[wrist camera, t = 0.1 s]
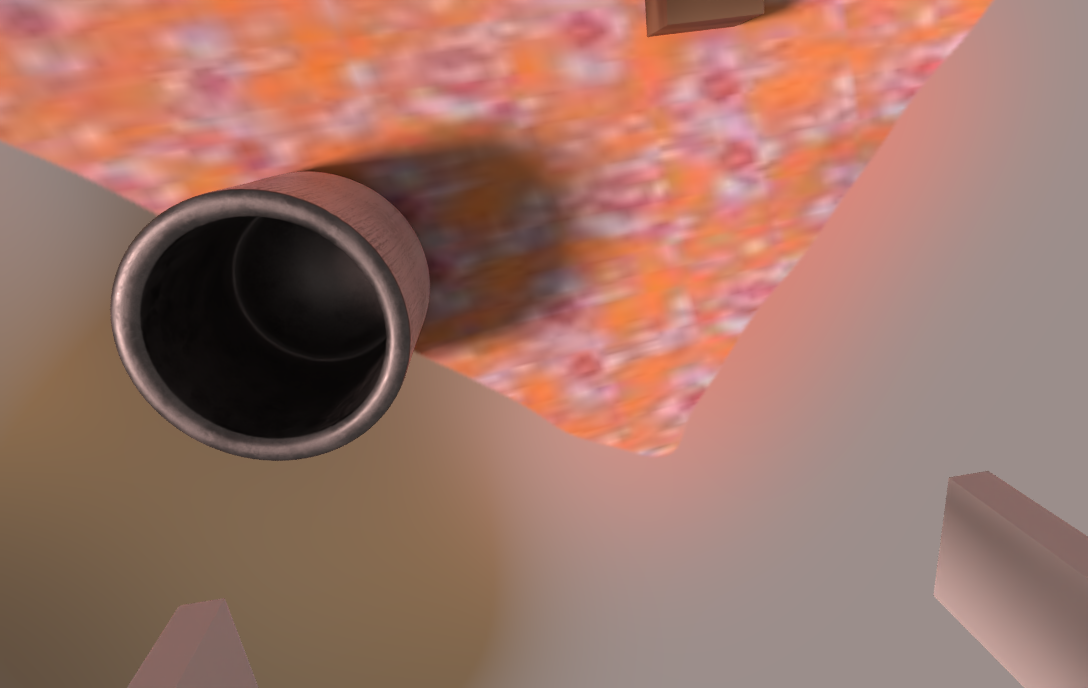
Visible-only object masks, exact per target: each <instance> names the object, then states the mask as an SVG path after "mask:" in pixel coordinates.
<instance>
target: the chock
mask: <svg viewBox="0 0 1088 688" xmlns="http://www.w3.org/2000/svg"><path fill="white" fill-rule="evenodd" d="M645 7H646V25H647V37H650V36H659V35H667V34H675V33H684V32H692V31H701V30H709V29H717V28H726V27H734V26H736V25H738V24H741V23H743V22H745V21H748V20H750V19H752V18H755V17H757V16H759V15H762V14H764V0H645Z"/></svg>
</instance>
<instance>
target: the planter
mask: <svg viewBox="0 0 1088 688" xmlns="http://www.w3.org/2000/svg"><path fill="white" fill-rule="evenodd" d="M429 298H430V277H429V269H428V264H427V261H426V257H425V254H424V251H423V248H422V246H421V243H420V241H419V239H418V237H417V235H416V233H415V232H414V230H413V228H412V227H411V225H410V224H409V223H408V221H407V220H406V219H405V217H404V216H403V215H402V214H401V213H400V211H399V210H398V209H397V208H396V207H395V206H394V205H392V204H391V203H390V202H389V201H388V200H387V199H385V198H384V197H383V196H381V195H380V194H379V193H377V192H375V191H374V190H372V189H371V188H369V187H367V186H365V185H363V184H361V183H358V182H356V181H354V180H351V179H348V178H345V177H342V176H338V175H335V174H329V173H323V172H309V171H305V172H293V173H286V174H281V175H277V176H273V177H269V178H265V179H261V180H258V181H254V182H250V183H246V184H242V185H239V186H235V187H230V188H226V189H222V190H217V191H213V192H208V193H205V194H201V195H198V196H195V197H192V198H190V199H187V200H185V201H182V202H180V203H178V204H176V205H174V206H172V207H171V208H169V209H167V210H166V211H164V212H163V213H161V214H160V215H158V216H157V217H156V218H155V219H153V220H152V221H151V222H150V223H149V224H148V225H146V227H144V228H143V229H142V231H141V232H140V233H139V234H138V235H137V236H136V237H135V239H134V240H133V241H132V243H131V244H130V246H129V247H128V249H127V251H126V252H125V254H124V256H123V258H122V260H121V262H120V264H119V267H118V270H117V272H116V275H115V279H114V283H113V288H112V295H111V324H112V331H113V336H114V340H115V344H116V347H117V351H118V353H119V356H120V359H121V361H122V363H123V365H124V367H125V369H126V371H127V373H128V375H129V377H130V378H131V380H132V382H133V383H134V385H135V386H136V388H137V389H138V391H139V392H140V393H141V395H142V396H143V397H144V398H145V400H146V401H147V402H148V403H149V404H150V405H151V406H152V407H153V408H154V409H155V410H156V411H157V412H158V413H159V414H160V415H161V416H162V417H164V418H165V419H166V420H167V421H168V422H169V423H171V424H172V425H173V426H175V427H176V428H177V429H179V430H180V431H182V432H183V433H185V434H187V435H188V436H190V437H192V438H193V439H195V440H197V441H199V442H201V443H203V444H205V445H207V446H210V447H212V448H215V449H217V450H220V451H223V452H226V453H229V454H233V455H237V456H241V457H246V458H252V459H259V460H272V461H279V460H280V461H283V460H297V459H302V458H308V457H313V456H318V455H321V454H324V453H327V452H330V451H333V450H335V449H338V448H340V447H342V446H344V445H346V444H348V443H349V442H351V441H353V440H355V439H356V438H358V437H359V436H361V435H362V434H364V433H365V432H366V431H367V430H369V429H370V428H371V427H372V426H373V425H374V424H375V423H376V422H377V421H378V420H379V419H380V418H381V417H382V416H383V415H384V414H385V412H386V411H387V410H388V408H389V407H390V406H391V404H392V402H393V401H394V399H395V398H396V396H397V394H398V392H399V390H400V388H401V386H402V383H403V381H404V378H405V376H406V372H407V369H408V366H409V363H410V359H411V356H412V354H413V351H414V348H415V345H416V342H417V339H418V337H419V334H420V331H421V328H422V326H423V322H424V319H425V316H426V313H427V309H428V305H429Z"/></svg>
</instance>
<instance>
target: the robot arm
mask: <svg viewBox="0 0 1088 688" xmlns="http://www.w3.org/2000/svg"><path fill="white" fill-rule="evenodd" d="M934 597H935V598H936V599H937V600H938V601H939V602H940V603H941V604H942V605H943V606H944V607H945V608H946V609H947V610H948V611H949V612H950V613H951V614H952V615H953V616H954V617H955V618H956V619H957V620H958V621H959V622H960V623H961V624H962V625H963V626H964V627H965V628H966V629H967V630H968V631H969V632H970V633H971V634H972V635H973V636H974V637H975V638H976V639H977V640H978V641H979V642H980V643H981V644H982V645H983V646H984V647H985V648H986V649H987V650H988V651H989V652H990V653H991V654H992V655H993V656H994V657H995V658H996V659H997V660H998V661H999V662H1000V663H1001V664H1002V665H1003V666H1004V667H1005V668H1006V670H1008V672H1010V674H1012V676H1013V677H1014V678H1015V679H1017V681H1018V682H1019V683H1020V684H1021V685H1022V686H1023V687H1024V688H1088V537H1087V536H1086V535H1084V534H1083V533H1081V532H1080V531H1078V530H1077V529H1075V528H1074V527H1072V526H1071V525H1069V524H1068V523H1066V522H1065V521H1063V520H1062V519H1060V518H1059V517H1057V516H1056V515H1054V514H1052V513H1051V512H1049V511H1048V510H1046V509H1045V508H1043V507H1042V506H1040V505H1039V504H1037V503H1036V502H1034V501H1033V500H1031V499H1030V498H1028V497H1026V496H1025V495H1024V494H1022V493H1021V492H1019V491H1018V490H1016V489H1015V488H1013V487H1012V486H1010V485H1009V484H1007V483H1006V482H1004V481H1002V480H1001V479H999V478H998V477H996V476H995V475H993V474H992V473H990V472H989V471H985V472H979V473H973V474H967V475H961V476H955V477H949V481H948V488H947V496H946V504H945V511H944V519H943V527H942V535H941V543H940V550H939V558H938V565H937V573H936V580H935V588H934ZM127 688H258V685H257V683H256V680H255V677H254V675H253V672H252V669H251V667H250V664H249V661H248V659H247V656H246V654H245V651H244V648H243V645H242V643H241V640H240V637H239V635H238V632H237V630H236V627H235V624H234V622H233V619H232V616H231V614H230V611H229V608H228V606H227V603H226V600H225V598H222V599H216V600H210V601H204V602H198V603H193V604H187V605H180V606H179V607H178V609H177V610H176V611H175V613H174V614H173V616H172V618H171V619H170V621H169V623H168V624H167V625H166V627H165V629H164V630H163V632H162V633H161V635H160V637H159V638H158V640H157V641H156V643H155V644H154V646H153V648H152V649H151V651H150V653H149V654H148V656H147V657H146V659H145V660H144V662H143V664H142V665H141V667H140V668H139V670H138V671H137V673H136V674H135V676H134V677H133V679H132V681H131V682H130V684H129V686H128V687H127Z"/></svg>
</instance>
